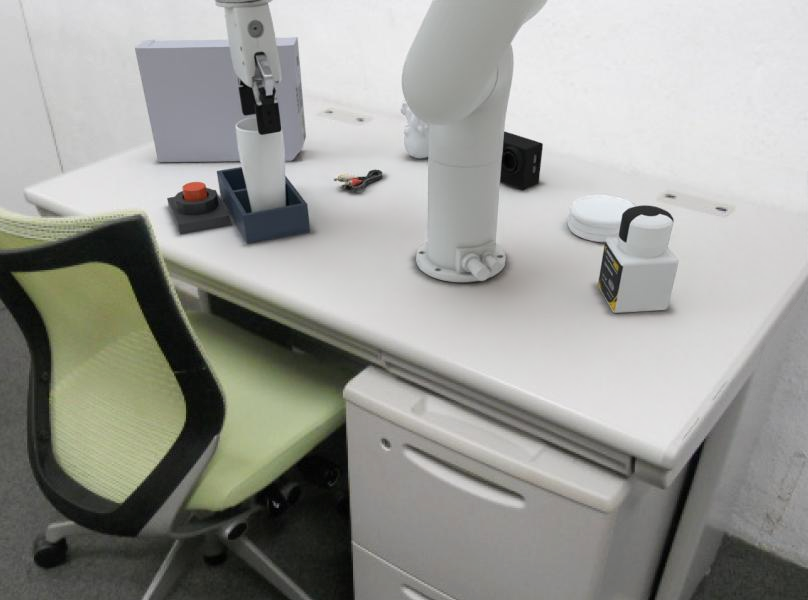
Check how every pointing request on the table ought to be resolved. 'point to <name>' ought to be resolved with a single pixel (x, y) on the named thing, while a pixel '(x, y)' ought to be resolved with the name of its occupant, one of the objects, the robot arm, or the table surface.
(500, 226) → the table surface
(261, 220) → the divided tray
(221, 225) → the control block
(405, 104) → the figurine
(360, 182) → the composite cable
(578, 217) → the round white container
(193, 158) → the game console
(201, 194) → the button
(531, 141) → the digital camera
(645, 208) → the medicine bottle
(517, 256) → the table surface
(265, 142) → the drinking glass
